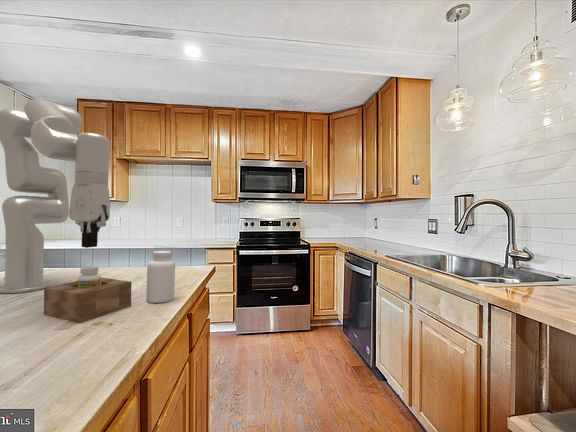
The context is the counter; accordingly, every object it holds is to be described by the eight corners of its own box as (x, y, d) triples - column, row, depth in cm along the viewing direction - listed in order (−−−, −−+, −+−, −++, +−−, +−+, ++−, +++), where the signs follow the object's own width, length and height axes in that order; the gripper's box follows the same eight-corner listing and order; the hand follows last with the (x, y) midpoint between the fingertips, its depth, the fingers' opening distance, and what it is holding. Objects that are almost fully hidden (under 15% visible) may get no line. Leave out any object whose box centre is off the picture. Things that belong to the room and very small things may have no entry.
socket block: (43, 314, 72) (44, 287, 72) (97, 299, 85) (97, 276, 85) (79, 323, 67) (80, 294, 67) (130, 305, 80) (131, 281, 80)
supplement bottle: (101, 298, 80) (101, 265, 80) (100, 303, 76) (101, 268, 76) (77, 301, 77) (78, 266, 77) (76, 306, 73) (76, 270, 73)
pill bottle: (179, 298, 88) (180, 251, 88) (156, 305, 81) (157, 254, 81) (164, 294, 92) (165, 249, 92) (140, 300, 86) (141, 251, 85)
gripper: (59, 178, 75) (56, 245, 76) (97, 178, 70) (94, 251, 70) (87, 181, 82) (85, 243, 83) (124, 182, 77) (121, 248, 77)
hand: (89, 246), depth 77 cm, fingers closed
